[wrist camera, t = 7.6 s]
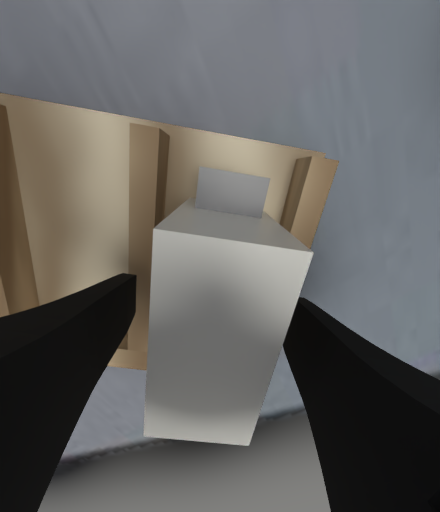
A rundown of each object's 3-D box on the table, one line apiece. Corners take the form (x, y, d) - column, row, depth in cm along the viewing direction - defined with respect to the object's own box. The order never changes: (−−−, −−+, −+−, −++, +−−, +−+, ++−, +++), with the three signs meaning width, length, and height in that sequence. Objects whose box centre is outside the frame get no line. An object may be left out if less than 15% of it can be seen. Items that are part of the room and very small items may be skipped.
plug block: (177, 317, 14) (143, 436, 8) (192, 166, 11) (156, 155, 5) (235, 325, 15) (248, 445, 8) (268, 178, 11) (335, 186, 5)
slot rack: (34, 321, 16) (-16, 361, 12) (-7, 95, 11) (-110, 59, 7) (260, 348, 17) (270, 392, 13) (317, 154, 12) (356, 147, 8)
